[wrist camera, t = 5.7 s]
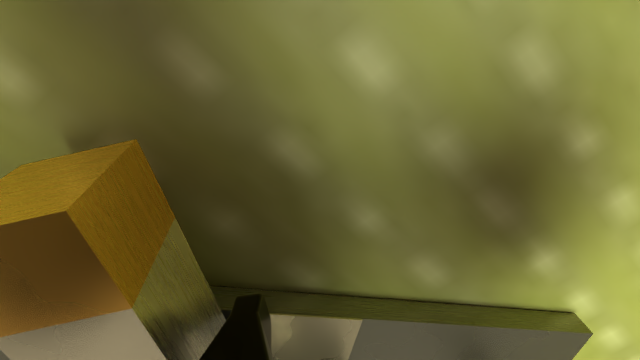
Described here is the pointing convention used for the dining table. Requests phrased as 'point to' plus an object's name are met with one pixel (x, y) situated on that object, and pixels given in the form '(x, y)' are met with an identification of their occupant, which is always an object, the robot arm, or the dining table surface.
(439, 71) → the dining table surface
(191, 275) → the square nut with handle
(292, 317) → the post base
